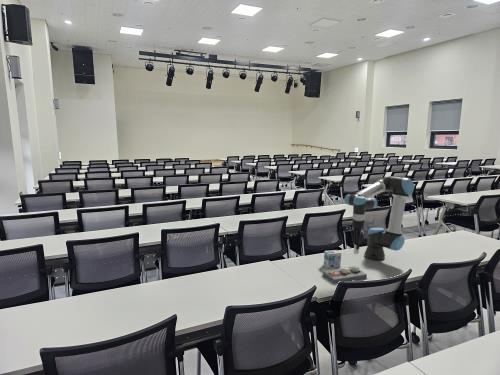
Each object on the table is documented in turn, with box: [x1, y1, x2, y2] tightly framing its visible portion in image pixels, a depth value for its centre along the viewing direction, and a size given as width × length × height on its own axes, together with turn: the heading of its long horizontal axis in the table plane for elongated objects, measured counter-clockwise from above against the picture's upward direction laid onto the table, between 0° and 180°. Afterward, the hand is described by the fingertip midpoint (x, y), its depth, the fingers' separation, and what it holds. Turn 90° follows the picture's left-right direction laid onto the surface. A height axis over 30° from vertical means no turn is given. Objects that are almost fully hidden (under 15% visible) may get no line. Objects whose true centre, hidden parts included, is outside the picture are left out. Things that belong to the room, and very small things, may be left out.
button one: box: [351, 264, 360, 273], centre depth 223 cm, size 5×5×3 cm
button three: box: [330, 271, 338, 277], centre depth 218 cm, size 5×5×3 cm
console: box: [322, 266, 368, 285], centre depth 220 cm, size 25×14×3 cm, turn 109°
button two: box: [340, 266, 349, 274], centre depth 220 cm, size 5×5×3 cm
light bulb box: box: [323, 249, 342, 269], centre depth 238 cm, size 11×7×11 cm, turn 105°
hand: (356, 253), depth 221 cm, fingers closed
